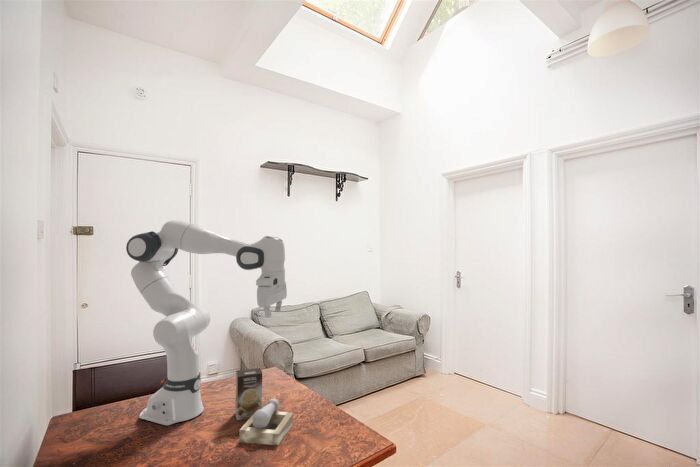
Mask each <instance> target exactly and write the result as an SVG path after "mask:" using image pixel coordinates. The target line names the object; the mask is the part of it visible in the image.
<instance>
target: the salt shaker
mask: <svg viewBox="0 0 700 467" xmlns="http://www.w3.org/2000/svg"><path fill="white" fill-rule="evenodd" d="M279 407H280V402H279V400H278V399H276V398H275V397H274V398H271V399H269V400H268V401H267V403H266V405H264V406H262V408H261V409H260V410H258V411H257V412H255V414H254V416H253V423H252V424H253V426H254V427H255V428H256V429H262V428H265V427H266V426H267V425H268V423H269V421H270V419H271V417H272V415H273V413H274V412H275V411H278V409H279Z"/></svg>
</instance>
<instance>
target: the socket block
mask: <svg viewBox="0 0 700 467" xmlns="http://www.w3.org/2000/svg"><path fill="white" fill-rule="evenodd" d="M258 410H260V409H258ZM258 410H257V411H258ZM257 411H256V412H257ZM254 414H255V413H254ZM254 414H253V415H252V416H251V418H248V419H247V421H246V422H245V423H244V424H243V425H242V426H241V428H240V429H239V431H238V432H239V435H238V437H239V441H238V442H239V443H246V444H247V443H248V444H257V445H258V444H259V445H268V446H269V445H270V446H271V445H272V446H279V445H280V444H281V443H282V442H283V440H284V438H285V437H286V436H287V434H288V433H289V431H290V430H291V428H292V426H293V425H294V412H288V411H279V410H276V411H275V412H274V413H273V415H272V417H271V419H270V421H269V423H268V425H267V426H266V427H265V428H262V429H256V428H255V427H254V426H253V424H252V423H253V416H254Z"/></svg>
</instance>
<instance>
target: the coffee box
mask: <svg viewBox="0 0 700 467" xmlns="http://www.w3.org/2000/svg"><path fill="white" fill-rule="evenodd" d="M235 372H236V374H235V375H236V376H235V418H236V419H235V420H236V421H240V420H248V419H250V418H251V416H252V415H253V414H254V413H255V412H256V411H257V410H258V409H261V408H263V371H262V369H261V367H257V368H256V367H255V368H247V369H239V370H236V371H235Z"/></svg>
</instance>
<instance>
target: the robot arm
mask: <svg viewBox="0 0 700 467" xmlns="http://www.w3.org/2000/svg"><path fill="white" fill-rule="evenodd" d="M125 249H126V253H127V255H128V256H129V258H131V259H132V260H134V261H138V263H136V264H134V266H133V267H132V268H131V270H130V275H131V278H132V280H133V283H134V285H135V286H136V288H137V291H139V293H140V295H141V296H142V297H143V299H144V300H145V301H146V303H147V305H148V306H149V307H150V309H151V310H152V311H154V312H156V313H159V314H162V315H163V316H165V317H164V318H162V319H160V320H159V321H158V322H157V323H156V324H155V325H154V327H153V330H152V331H153V332H152V333H153V334H152V335H153V338H154V341H155V342H156V344H158V345H160V346H161V347H162V348H163V350H164V352H165V355H166V361H167V363H166V364H167V365H166V366H167V376H165V377H164V378H163V379H161V380H160V384H163V383H164V384H163V386H162V387H160V389H158V390H157V391H156V392H154V393H153V394H152V395H151V396H150V397H149V399H148V400H147V404H146V407H145V408H144V409H143V410H142V411H141V412H140V413H139V416H138V417H139V419H142V420H145V421H148V422H149V421H150V422H152V423H156V424H159V425H163V426H170V425H174V424H176V423H180V422H184V421H185V422H186V421H188V420H191V419H193V418H196V417H198V416H199V415H200V414H202V412H204V408H205V407H204V404H203V401H202V397H201V396H202V395H201V389H200V388H201V383H202V382H201V372H200V353H199V351H198V350H196V349H195V348H194V346H193V345H194V344H193V342H192V340H193V339H192V338H194V337H195V336H198V335H199V334H202V332H203V331H205V329H207V328H208V327H209V325H210V322H211V315H210V314H209V312H208V310H207V309H206V308H204V307H200V306H198V305H196V303H195V304H194V303H193V302H192V301H190V300H189V298H187V297H186V296H184V294H183V293H181V292H180V290H179V289H178V288H177V286H176V285H175V284H174V282H173V281H172V280H171V279H170V277H169V275H167V273H166V272H165V270H164V267H165V266H167V265H169V263H170V262H171V261H173V259H174V258H175V257H176V256H177V254H178V252H179V250H181V251H184V252H187V253H190V254H191V253H192V254H197V255H209V254H211V255H212V254H226V255H228V256H233V257H235V260H236V264H237V265H238V267H239V268H241V269H242V270H245V271H253V270H258V269H261V274H260V276H259V277H258V278H257V279H256V280H255V285H256V286H257V289H256V301H257V305H258V307H259V308H263V312H264V317H265V318H267V319H268V318H270V317H272V311H271V306H272V305H275V307H274V308H275V309H274V310H275V313H279V312H281V311H282V304H283V301H284V299H287V295H288V294H287V293H288V290H287V289H288V288H287V283H286V269H285V260H286V251H285V243H284V240H283V239H282V238H280V237H276V236H269V235H265V236H263V237H262V238H260V239H259V240H258V241H255V242H253V243H250V244H248V243H245V242H242V241H239V240H235V239H231V238H228V237H226V236H223V235H222V234H221V235H220V234H218V233H216V232H214V231H212V230H210V229H208V228H205V227H203V226H200V225H198V224H195V223H191V222H186V221H181V220H173V219H171V220H168V221H166V222H165V223H164V224H163V225H162V227H161V229H160V230H159V232H155V231H148V232H144V233H140V234H136V235H133V236H131V238H129V239H128V241H127V242H126V248H125Z"/></svg>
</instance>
